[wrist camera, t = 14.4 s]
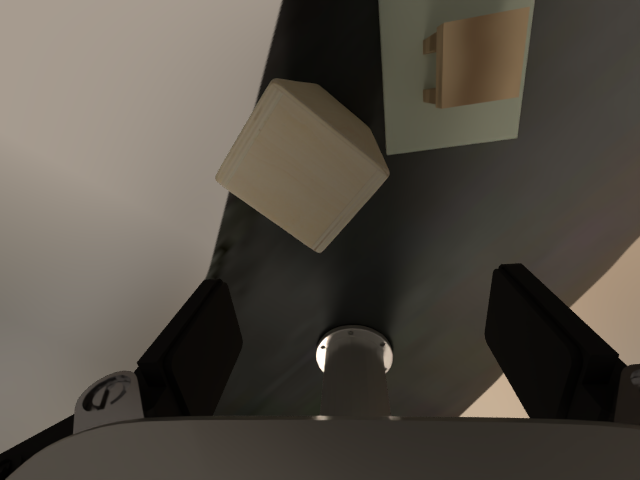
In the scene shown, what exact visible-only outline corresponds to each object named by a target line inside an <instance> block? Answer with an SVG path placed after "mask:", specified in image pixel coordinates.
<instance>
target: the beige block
mask: <svg viewBox="0 0 640 480" xmlns="http://www.w3.org/2000/svg"><path fill="white" fill-rule="evenodd" d="M389 175H390V172H389V169H388V167H387V165H386V163H385V160H384V158H383V156H382V153H381V151H380V149H379V147H378V145H377V143H376V140H375V138H374V136H373V134H372V131H371V129H370V128H369V127H368V126H367V125H366V124H365V123H363V122H362V121H361V120H360V119H359V118H358V117H356V116H355V115H354V114H353V113H352V112H350V111H349V110H348V109H347V108H346V107H345V106H343V105H342V104H341V103H340V102H339V101H337V100H336V99H335V98H334V97H333V96H332V95H330V94H329V93H328V92H327V91H326V90H324V89H323V88H322V87H321V86H320V85H318V84H314V83H306V82H298V81H292V80H285V79H278V78H275V79H273V80H272V81H271V82H270V84H269V85H268V87H267V88H266V90H265V92H264V93H263V95H262V97H261V98H260V100H259V102H258V104H257V105H256V107H255V109H254V110H253V112H252V114H251V116H250V117H249V119H248V121H247V123H246V124H245V126H244V128H243V129H242V131H241V133H240V134H239V136H238V138H237V140H236V141H235V143H234V145H233V146H232V148H231V150H230V152H229V153H228V155H227V157H226V159H225V160H224V162H223V164H222V165H221V167H220V169H219V171H218V173H217V174H216V177H215V179H216V181H217V182H218V183H219V184H221V185H222V186H223V187H224V188H226V189H227V190H229V191H230V192H231V193H233V194H234V195H236V196H237V197H239V198H240V199H241V200H243V201H244V202H246V203H247V204H248V205H250V206H251V207H253V208H254V209H256V210H257V211H258V212H260V213H261V214H263V215H264V216H266V217H267V218H268V219H270V220H271V221H273V222H274V223H276V224H277V225H278V226H280V227H281V228H283V229H284V230H285V231H287V232H288V233H290V234H291V235H292V236H294V237H295V238H297V239H298V240H299V241H301V242H302V243H304V244H305V245H307V246H308V247H309V248H311V249H312V250H314V251H316V252H318V253H321V252H322V251H323V250H324V249H325V248H326V247H327V246H328V245H329V244H330V243H331V242H332V241H333V239H334V238H335V237H336V236H337V235H338V234H339V233H340V232H341V230H342V229H343V228H344V227H345V226H346V225H347V224H348V223H349V221H350V220H351V219H352V218H353V217H354V216H355V215H356V213H357V212H358V211H359V210H360V209H361V208H362V207H363V206H364V205H365V203H366V202H367V201H368V200H369V199H370V198H371V197H372V196H373V194H374V193H375V192H376V191H377V190H378V189H379V187H380V186H381V185H382V184H383V183H384V182H385V180H386V179H387V178H388V177H389Z"/></svg>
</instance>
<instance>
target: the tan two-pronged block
mask: <svg viewBox="0 0 640 480" xmlns="http://www.w3.org/2000/svg"><path fill="white" fill-rule="evenodd" d="M529 10H530V7H525V8H520V9H514V10H509V11H504V12H499V13H493V14H488V15H483V16H477V17H472V18H467V19H461V20H456V21H451V22H445V23H443V24H441V25H440V26H438V27H437V32H436V33H434V34H432V35H431V36H429V37H428V38H426V39H425V40H423V55H424V54H429V53H435V52H436V88H430V89H424V90H423V102H425V103H431V104H436V108H441V109H443V108H450V107H457V106H463V105H470V104H476V103H483V102H490V101H496V100H503V99H510V98H516V97H519V92H520V84H521V75H522V67H523V59H524V51H525V43H526V35H527V27H528V18H529Z"/></svg>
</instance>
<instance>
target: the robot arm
mask: <svg viewBox="0 0 640 480" xmlns="http://www.w3.org/2000/svg"><path fill="white" fill-rule="evenodd" d="M485 339H486V342H487V344H488V346H489V348H490V350H491V351H492V353H493V355H494V357H495V358H496V360H497V362H498V364H499V365H500V367H501V369H502V370H503V372H504V374H505V376H506V377H507V379H508V381H509V383H510V384H511V386H512V388H513V390H514V391H515V393H516V395H517V397H518V398H519V400H520V402H521V403H522V405H523V407H524V409H525V410H526V412H527V414H528V416H529V417H530V418H484V417H402V416H391V411H390V404H389V396H388V388H387V381H386V373H387V372H388V370H389V369H390V367H391V365H392V362H393V353H392V348H391V345H390V343H389V342H388V340H387V339H386V338H385V337H384V336H383V335H382V334H381V333H379V332H378V331H376V330H374V329H372V328H369V327H365V326H360V325H346V326H340V327H337V328H334V329H332V330H330V331H329V332H327V333H326V334H325V335H324V336H323V337H322V338H321V339H320V340H319V343H318V345H317V349H316V360H317V363H318V365H319V367H320V368H321V370H322V371H323V372H324V375H323V386H322V398H321V410H320V416H213V413H214V411H215V409H216V406H217V404H218V402H219V400H220V397H221V395H222V393H223V390H224V388H225V386H226V383H227V381H228V379H229V376H230V374H231V372H232V370H233V367H234V365H235V363H236V360H237V358H238V356H239V353H240V351H241V349H242V343H243V341H242V336H241V332H240V328H239V325H238V321H237V318H236V314H235V310H234V307H233V303H232V299H231V296H230V292H229V288H228V285H227V283H225V282H224V283H223V281H222V280H221V279H208V280H204V281H203V282H202V283H201V284H200V285H199V287H198V288H197V289H196V291H195V292H194V293H193V294H192V295H191V297H190V298H189V299H188V300H187V302H186V303H185V304H184V305H183V306H182V308H181V309H180V310H179V312H178V313H177V314H176V315H175V316H174V318H173V319H172V320H171V321H170V323H169V324H168V325H167V326H166V327H165V329H164V330H163V331H162V332H161V333H160V335H159V336H158V337H157V339H156V340H155V341H154V342H153V344H152V345H151V346H150V347H149V348H148V349H147V351H146V352H145V353H144V355H143V356H142V357H141V358H140V359H139V361H138V362H137V364H138V366H139V367H138V368H137V369H136V370H135V372H134V373H133V372H131V371H119V372H115V373H112V374H109V375H107V376H105V377H103V378H101V379H100V380H98V381H96V382H95V383H93V384H92V385H91V386H89V387H88V388H87V389H86V390H85V391H84V392H83V393H82V395H81V396H80V397H79V399H78V400H77V403H76V406H75V414H73V415H72V416H70V417H68V418H66V419H64V420H62V421H60V422H59V423H57V424H55V425H53V426H51V427H49V428H48V429H46V430H44V431H42V432H40V433H38V434H37V435H35V436H33V437H31V438H29V439H27V440H25V441H24V442H22V443H20V444H18V445H16V446H14V447H13V448H11V449H9V450H7V451H5V452H3V453H1V454H0V480H640V364H633V365H629V366H627V365H626V364H625V363H623V362H622V361H621V360H620V359H619V358H618V357H619V354H618V353H617V352H616V351H615V350H614V349H612V348H611V347H610V346H609V345H608V344H607V343H606V342H605V341H604V340H603V339H602V338H601V337H600V336H599V335H597V334H596V333H595V332H594V331H593V330H592V329H591V328H590V327H589V326H588V325H587V324H586V323H584V321H583V320H581V319H580V318H579V317H578V316H577V315H576V314H575V313H574V312H573V311H572V310H571V309H570V308H569V307H568V306H566V305H565V304H564V303H563V302H562V301H561V300H560V299H559V298H558V297H557V296H556V295H555V294H554V293H553V292H551V291H550V290H549V289H548V288H547V287H546V286H545V285H544V284H543V283H542V282H541V281H540V280H539V279H537V278H536V277H535V276H534V275H533V274H532V273H531V272H530V271H529V270H528V269H527V268H526V267H525V266H524V265H522V264H519V263H518V264H501V265H500V266H499V268H498V269H495V270H494V271H493V276H492V284H491V291H490V298H489V305H488V312H487V319H486V326H485Z"/></svg>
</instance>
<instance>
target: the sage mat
mask: <svg viewBox="0 0 640 480" xmlns="http://www.w3.org/2000/svg"><path fill="white" fill-rule="evenodd" d="M534 3H535V0H378V4H379V24H380V43H381V62H382V81H383V101H384V120H385V139H386V154H387V155H392V154H400V153H407V152H415V151H423V150H430V149H438V148H445V147H453V146H460V145H468V144H476V143H483V142H491V141H498V140H506V139H513V138H517V135H518V127H519V119H520V112H521V104H522V96H523V88H524V81H525V73H526V65H527V57H528V49H529V42H530V34H531V26H532V18H533V11H534ZM525 7H530V10H529V18H528V27H527V35H526V43H525V51H524V59H523V67H522V75H521V84H520V92H519V97H516V98H510V99H503V100H496V101H490V102H483V103H476V104H470V105H463V106H457V107H450V108H443V109H441V108H436V104H431V103H425V102H423V90H424V89H430V88H436V52H435V53H429V54H424V55H423V40H425V39H426V38H428V37H429V36H431V35H432V34H434V33H436V32H437V27H438V26H440V25H441V24H443V23H445V22H451V21H456V20H461V19H467V18H472V17H477V16H483V15H488V14H493V13H499V12H504V11H509V10H514V9H520V8H525Z"/></svg>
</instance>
